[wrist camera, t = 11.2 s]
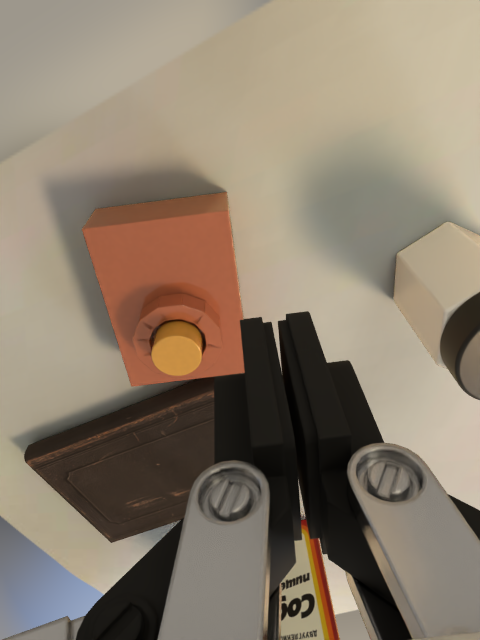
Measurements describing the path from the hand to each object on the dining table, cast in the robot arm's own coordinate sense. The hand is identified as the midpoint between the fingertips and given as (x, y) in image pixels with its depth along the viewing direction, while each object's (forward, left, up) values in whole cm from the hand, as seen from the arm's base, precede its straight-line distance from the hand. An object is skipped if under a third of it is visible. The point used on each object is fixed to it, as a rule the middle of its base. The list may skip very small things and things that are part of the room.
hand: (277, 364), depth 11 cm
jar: (+12, +16, -25) cm, 32 cm away
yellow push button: (+12, -6, -19) cm, 24 cm away
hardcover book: (+30, -11, -25) cm, 41 cm away
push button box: (+10, -6, -25) cm, 28 cm away
